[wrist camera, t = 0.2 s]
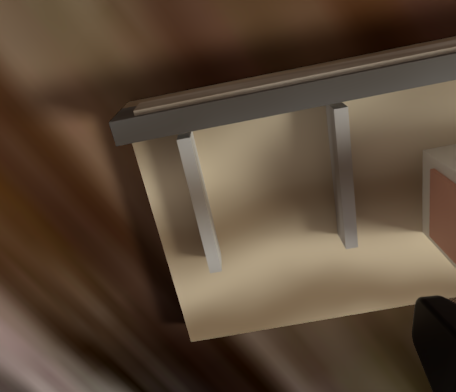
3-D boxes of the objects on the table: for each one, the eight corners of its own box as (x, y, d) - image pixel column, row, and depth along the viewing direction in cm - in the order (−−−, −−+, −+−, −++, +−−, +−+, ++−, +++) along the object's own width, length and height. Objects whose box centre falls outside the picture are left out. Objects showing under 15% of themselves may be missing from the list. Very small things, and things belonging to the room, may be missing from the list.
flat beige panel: (554, 262, 25) (613, 306, 21) (192, 324, 26) (188, 376, 22) (595, 3, 19) (687, 1, 15) (126, 97, 20) (106, 117, 16)
